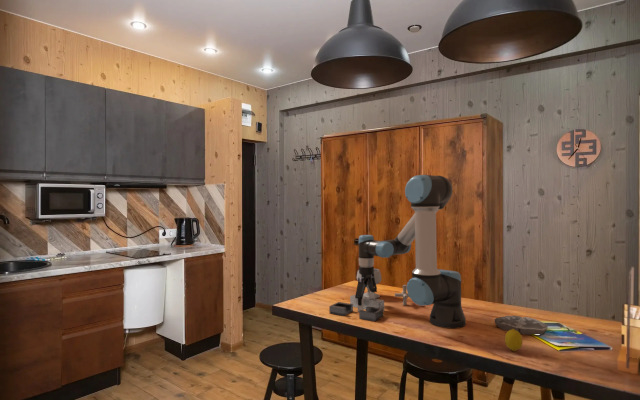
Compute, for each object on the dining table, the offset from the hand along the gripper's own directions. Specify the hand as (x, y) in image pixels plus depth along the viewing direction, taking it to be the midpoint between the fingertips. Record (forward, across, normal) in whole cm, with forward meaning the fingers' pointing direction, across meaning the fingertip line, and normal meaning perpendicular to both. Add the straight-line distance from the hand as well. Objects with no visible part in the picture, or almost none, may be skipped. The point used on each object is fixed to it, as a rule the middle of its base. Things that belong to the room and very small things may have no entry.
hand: (366, 308), depth 191 cm
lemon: (0, +22, +68) cm, 72 cm away
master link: (0, 0, 0) cm, 0 cm away
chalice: (0, -22, -9) cm, 24 cm away
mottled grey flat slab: (0, -6, +68) cm, 68 cm away
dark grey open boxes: (0, +12, 0) cm, 12 cm away
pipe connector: (0, -16, +14) cm, 21 cm away
